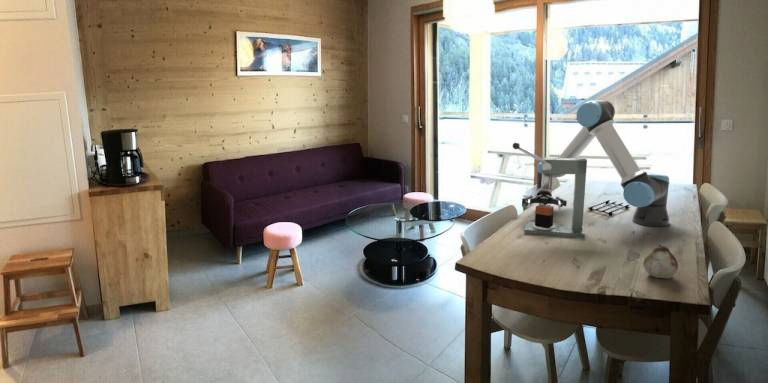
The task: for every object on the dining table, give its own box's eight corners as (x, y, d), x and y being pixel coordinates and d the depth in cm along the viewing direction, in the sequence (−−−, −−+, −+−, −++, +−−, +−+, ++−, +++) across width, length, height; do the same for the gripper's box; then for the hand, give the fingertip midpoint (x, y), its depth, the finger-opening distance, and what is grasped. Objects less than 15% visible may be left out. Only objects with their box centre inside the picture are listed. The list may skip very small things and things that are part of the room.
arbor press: (582, 229, 221) (588, 140, 213) (584, 238, 209) (591, 144, 200) (511, 224, 231) (514, 139, 223) (509, 233, 218) (512, 142, 210)
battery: (538, 223, 224) (539, 202, 221) (552, 226, 219) (554, 204, 217) (534, 225, 220) (535, 204, 218) (549, 228, 216) (550, 206, 214)
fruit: (643, 279, 164) (646, 245, 162) (640, 269, 173) (643, 237, 170) (678, 283, 161) (682, 248, 158) (673, 273, 169) (677, 240, 167)
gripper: (569, 204, 243) (572, 215, 223) (518, 202, 250) (515, 212, 231) (570, 190, 241) (573, 199, 221) (518, 187, 249) (516, 196, 229)
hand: (544, 206), depth 226 cm, fingers open, 13 cm apart
